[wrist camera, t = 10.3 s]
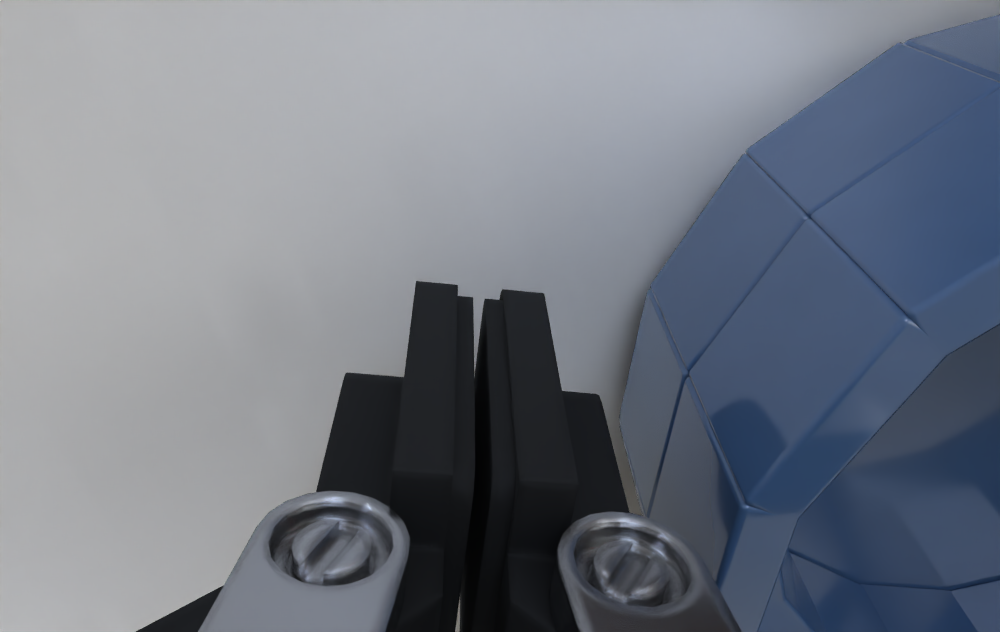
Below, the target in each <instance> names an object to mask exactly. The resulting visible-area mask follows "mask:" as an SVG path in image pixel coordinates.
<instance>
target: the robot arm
mask: <svg viewBox="0 0 1000 632" xmlns="http://www.w3.org/2000/svg"><path fill="white" fill-rule="evenodd" d="M457 295H458V285H452V284H441V283H431V282H420V281H416V287H415V295H414V303H413V311H412V319H411V327H410V335H409V343H408V351H407V359H406V367H405V375H404V377H394V376H382V375H370V374H359V373H346V374H345V377H344V380H343V384H342V388H341V392H340V396H339V400H338V404H337V408H336V412H335V417H334V421H333V425H332V429H331V433H330V437H329V441H328V445H327V449H326V453H325V457H324V462H323V466H322V470H321V474H320V478H319V482H318V486H317V490H316V493H308V494H305V495H302V496H299V497H296V498H293V499H291V500H288V501H285V502H284V503H282V504H281V505H279V506H278V507H276V508H275V509H273V510H272V511H270V512H269V513H268V514H267V515H266V516H265V517H264V519H263V520H262V521H261V522H260V523H259V525H258V526H257V527H256V529H255V531H254V532H253V534H252V536H251V538H250V539H249V541H248V543H247V545H246V547H245V548H244V550H243V552H242V554H241V556H240V557H239V559H238V561H237V563H236V565H235V566H234V568H233V570H232V572H231V574H230V575H229V577H228V579H227V581H226V583H225V584H224V586H222V587H220V588H218V589H216V590H214V591H212V592H210V593H208V594H206V595H205V596H203V597H201V598H199V599H197V600H195V601H193V602H191V603H189V604H188V605H186V606H184V607H182V608H180V609H178V610H176V611H174V612H172V613H170V614H169V615H167V616H165V617H163V618H161V619H159V620H157V621H155V622H153V623H151V624H150V625H148V626H146V627H144V628H142V629H140V630H138V631H136V632H455V627H456V620H457V612H458V605H459V597H460V632H742V631H741V629H740V627H739V625H738V623H737V621H736V620H735V618H734V616H733V614H732V612H731V610H730V608H729V607H728V605H727V603H726V601H725V599H724V597H723V595H722V594H721V592H720V590H719V588H718V586H717V584H716V583H715V581H714V579H713V577H712V575H711V573H710V571H709V570H708V568H707V566H706V564H705V562H704V560H703V559H702V557H701V556H700V555H699V553H698V552H697V551H696V549H695V548H694V547H693V545H692V544H691V543H690V542H689V541H688V540H686V539H685V538H684V537H683V536H681V535H680V534H679V533H678V532H676V531H675V530H674V529H672V528H670V527H668V526H666V525H664V524H662V523H660V522H658V521H656V520H654V519H651V518H647V517H644V516H640V515H637V514H633V513H629V509H628V505H627V501H626V497H625V493H624V489H623V485H622V481H621V477H620V473H619V470H618V466H617V462H616V458H615V454H614V450H613V446H612V442H611V438H610V434H609V430H608V426H607V422H606V418H605V414H604V410H603V406H602V402H601V400H600V397H599V395H597V394H590V393H579V392H567V391H562V389H561V384H560V378H559V373H558V367H557V362H556V356H555V351H554V345H553V340H552V334H551V329H550V323H549V318H548V312H547V307H546V301H545V296H544V293H535V292H524V291H514V290H502V291H501V295H500V300H493V299H485V301H484V306H483V313H482V321H481V329H480V337H479V345H478V353H477V361H476V369H475V377H474V324H473V297H462V296H457Z"/></svg>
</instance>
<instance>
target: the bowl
mask: <svg viewBox="0 0 1000 632" xmlns="http://www.w3.org/2000/svg"><path fill="white" fill-rule="evenodd" d="M619 419H620V426H619V427H620V431H621V434H622V438H623V442H624V446H625V450H626V454H627V458H628V462H629V466H630V470H631V474H632V478H633V482H634V486H635V490H636V494H637V498H638V501H639V505H640V509H641V513H642V516H644V517H647V518H651V519H654V520H656V521H658V522H660V523H662V524H664V525H666V526H668V527H670V528H672V529H674V530H675V531H676V532H678V533H679V534H680V535H681V536H683V537H684V538H685V539H686V540H688V541H689V542H690V543H691V544H692V545H693V547H694V548H695V549H696V551H697V552H698V553H699V555H700V556H701V557H702V559H703V560H704V562H705V564H706V566H707V568H708V570H709V571H710V573H711V575H712V577H713V579H714V581H715V583H716V584H717V586H718V588H719V590H720V592H721V594H722V595H723V597H724V599H725V601H726V603H727V605H728V607H729V608H730V610H731V612H732V614H733V616H734V618H735V620H736V621H737V623H738V625H739V627H740V629H741V631H742V632H1000V14H999V15H996V16H992V17H988V18H985V19H981V20H978V21H974V22H970V23H967V24H963V25H960V26H956V27H952V28H949V29H945V30H941V31H938V32H934V33H931V34H927V35H923V36H920V37H916V38H913V39H910V40H908V41H906V42H904V44H903V43H901V42H900V43H897V44H896V45H894V46H893V47H891V48H890V49H889V50H887V51H886V52H884V53H883V54H881V55H880V56H879V57H877V58H876V59H874V60H873V61H872V62H870V63H869V64H867V65H866V66H864V67H863V68H862V69H860V70H859V71H857V72H856V73H854V74H853V75H852V76H850V77H849V78H847V79H846V80H844V81H843V82H842V83H840V84H839V85H837V86H836V87H835V88H833V89H832V90H830V91H829V92H827V93H826V94H825V95H823V96H822V97H820V98H819V99H817V100H816V101H815V102H813V103H812V104H810V105H809V106H808V107H806V108H805V109H803V110H802V111H800V112H799V113H798V114H796V115H795V116H793V117H792V118H790V119H789V120H788V121H786V122H785V123H783V124H782V125H781V126H779V127H778V128H776V129H775V130H773V131H772V132H771V133H769V134H768V135H766V136H765V137H763V138H762V139H761V140H759V141H758V142H756V143H755V144H753V145H752V146H751V147H749V148H748V149H747V150H746V154H743V155H742V156H741V157H740V159H739V160H738V162H737V163H736V164H735V166H734V167H733V169H732V170H731V172H730V173H729V174H728V176H727V177H726V179H725V180H724V181H723V183H722V184H721V186H720V187H719V189H718V190H717V191H716V193H715V194H714V196H713V197H712V198H711V200H710V201H709V203H708V204H707V205H706V207H705V208H704V210H703V211H702V213H701V214H700V215H699V217H698V218H697V220H696V221H695V222H694V224H693V225H692V227H691V228H690V230H689V231H688V232H687V234H686V235H685V237H684V238H683V239H682V241H681V242H680V244H679V245H678V246H677V248H676V249H675V251H674V252H673V254H672V255H671V256H670V258H669V259H668V261H667V262H666V263H665V265H664V266H663V268H662V269H661V270H660V272H659V273H658V275H657V276H656V278H655V279H654V280H653V282H652V283H651V286H650V289H649V290H648V292H647V295H646V299H645V304H644V308H643V313H642V317H641V321H640V326H639V330H638V335H637V339H636V344H635V348H634V353H633V357H632V361H631V366H630V370H629V375H628V379H627V384H626V388H625V393H624V397H623V401H622V406H621V410H620V415H619Z"/></svg>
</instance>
